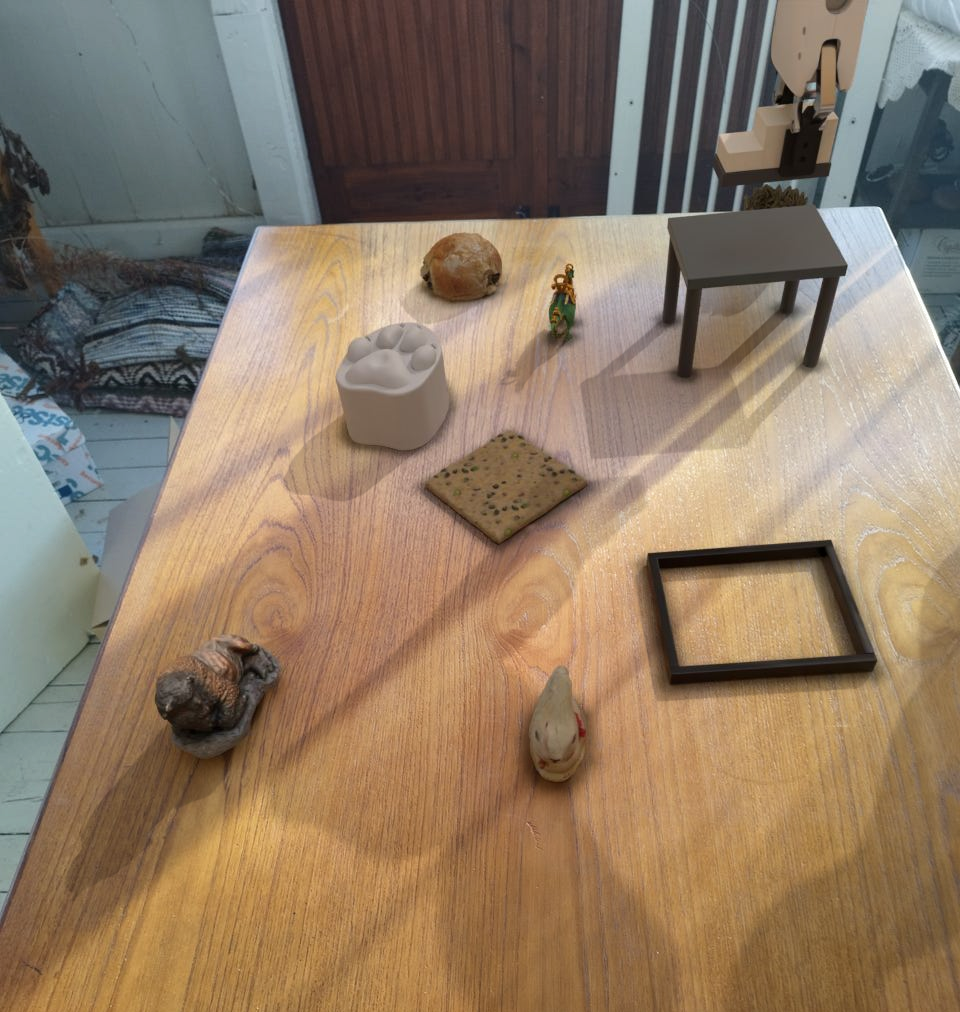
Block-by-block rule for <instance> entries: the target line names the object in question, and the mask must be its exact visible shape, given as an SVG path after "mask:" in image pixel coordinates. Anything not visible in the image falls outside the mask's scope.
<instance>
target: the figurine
mask: <svg viewBox="0 0 960 1012" xmlns="http://www.w3.org/2000/svg"><path fill="white" fill-rule="evenodd" d="M574 267H575V266H574V265H573V264H572V263H567V264H566V265H565V268H564V273H557V274H556V275H554V277H553V282H554V283H552V284H551V285H550V288H551V289H552V290H553V291H554V292H553V293H552V298H551V301H550V302H549V303H550V305H549V308H548V319H549V324H550V330H551V335H552V338H553V340H554V341H556V339H557V338H558V337H559V335H560V333H559V332H558V331H557V330H556V326H557V325H558V323H559V324H562V323H563V322H564V321H565V323H566V329H565V332H566V333H565V341H568V340H569V339H571V338H573V334H571V333H570V331H571V328H572V327H573V325H574V324H575V323H577V322H576V320H575V317H576V310H577V300H576V299H577V296H578V295H577V294H578V293H577V292H575V288H574V284H573V283H574V281H573V279H574V278H575V270H574ZM558 279H563V281H561V282H558Z"/></svg>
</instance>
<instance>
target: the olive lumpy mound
mask: <svg viewBox="0 0 960 1012" xmlns="http://www.w3.org/2000/svg"><path fill="white" fill-rule="evenodd" d="M805 196H806V193H805V191H801V193H800V189H798V188H797V187H796V188H792V185H788V186H787V187H786V188H785V189H784V190H783V188H782V185H781V184H780V183H779V184H778V185H777V186H776V187H775V188H774V187H773V186H772V185H770V184H768V183H764V184H763V185H762V186H761V187H756V186H755V187H754V188H753V190H752V195H749V196H748V193H747V192H746V193H745V195H744V196H743V211H749V210H760V209H771V208H782V207H792V206H803V205H808V202H809V196H806V197H805Z"/></svg>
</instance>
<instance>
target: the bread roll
mask: <svg viewBox="0 0 960 1012" xmlns="http://www.w3.org/2000/svg"><path fill="white" fill-rule="evenodd" d="M422 264H423V265H422V266H421V267H420V270H419V272H420V273H419V275H420V277H421V278H422V280H423V281H424V282H426V287H427V288H428V289H429V291H430V292H431V293H433V294H434V295H435V296H437V297H439V298H442V299H444V300H446V301H449V302H451V301H471V300H477V299H480V298H482V297H483V298H484V296H488V295H489V296H491V295H492V294H493V293H494V292H496V290H497V289H498V287H497V285H498V284H499V282H500V279H501V277H502V272H503V261H502V257H501V254H500V253H499V251H498V249H497V248H496V247H495V246H494V244H493V243H492V242H491V241H489V240H488V239H486V238H484V237H483V236H482V235H481V234H480V233H478V232H466V231H465V232H455V233H452V234H449V235H446V236H444V237H442V238H441V239H439V240H438V241H437V242H435V243H434V244H433V246H431V248H430V250H428V251H427V253H426V254H425V256H424V257H423V261H422Z"/></svg>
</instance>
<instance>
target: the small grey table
mask: <svg viewBox="0 0 960 1012" xmlns="http://www.w3.org/2000/svg"><path fill="white" fill-rule="evenodd" d="M666 227H667V228H666V230H667V231H668V235H669V240H668V242H669V243H668V252H667V261H666V271H665V272H666V274H665V284H664V296H663V304H662V305H663V307H662V317H661V321H662V322H663V323H664V324H673V323H675V322H676V321H677V312H678V311H677V310H678V300H679V291H680V282H681V277H682V279H683V281H684V286H685V288H686V291H685V299H684V308H683V317H682V324H681V325H682V326H681V334H680V335H681V336H680V344H679V352H678V361H677V362H678V363H677V371H676V375H677V377H679V378H682V379H687V378H689V377H691V376H692V374H693V373H692V372H693V365H694V358H695V350H696V344H697V343H696V342H697V335H698V334H697V333H698V325H699V318H700V310H701V305H702V304H701V303H702V295H703V289H715V288H726V287H737V286H749V285H761V284H772V283H781V282H784V285H783V290H782V294H781V298H780V299H781V300H780V304H779V309H778V310H779V311H780V312H781V313H783V314H791V313H793V311H794V308H795V304H796V301H797V300H796V299H797V295H798V291H799V285H800V281H805V280H817V279H822V280H821V284H820V289H819V292H818V298H817V300H816V301H817V302H816V305H815V309H814V314H813V318H812V321H811V327H810V330H809V335H808V339H807V343H806V346H805V351H804V355H803V358H802V364H803V366H804V367H806V368H815V367H817V366H818V364H819V360H820V356H821V352H822V350H823V349H822V348H823V344H824V340H825V336H826V333H827V329H828V325H829V321H830V318H831V313H832V309H833V305H834V302H835V297H836V295H837V290H838V286H839V282H840V278H841V277H845V276H847V275H846V274H847V271H848V268H849V267H848V266H849V265H848V262H847V261H846V259H845V257H844V255H843V254H842V252H841V250H840V248H839V246H838V245H837V243H836V241H835V239H834V237H833V235H832V233H831V231H830V230H829V229H828V226H827V224H826V222H825V221H824V219H823V217H822V216H821V213H820V212H819V210H818V209H817V207H816V204H807V205H803V206H792V207H782V208H771V209H760V210H749V211H744V210H739V211H728V212H718V213H717V212H716V213H705V214H696V215H695V214H694V215H685V216H673V217H668V218H667V225H666Z"/></svg>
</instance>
